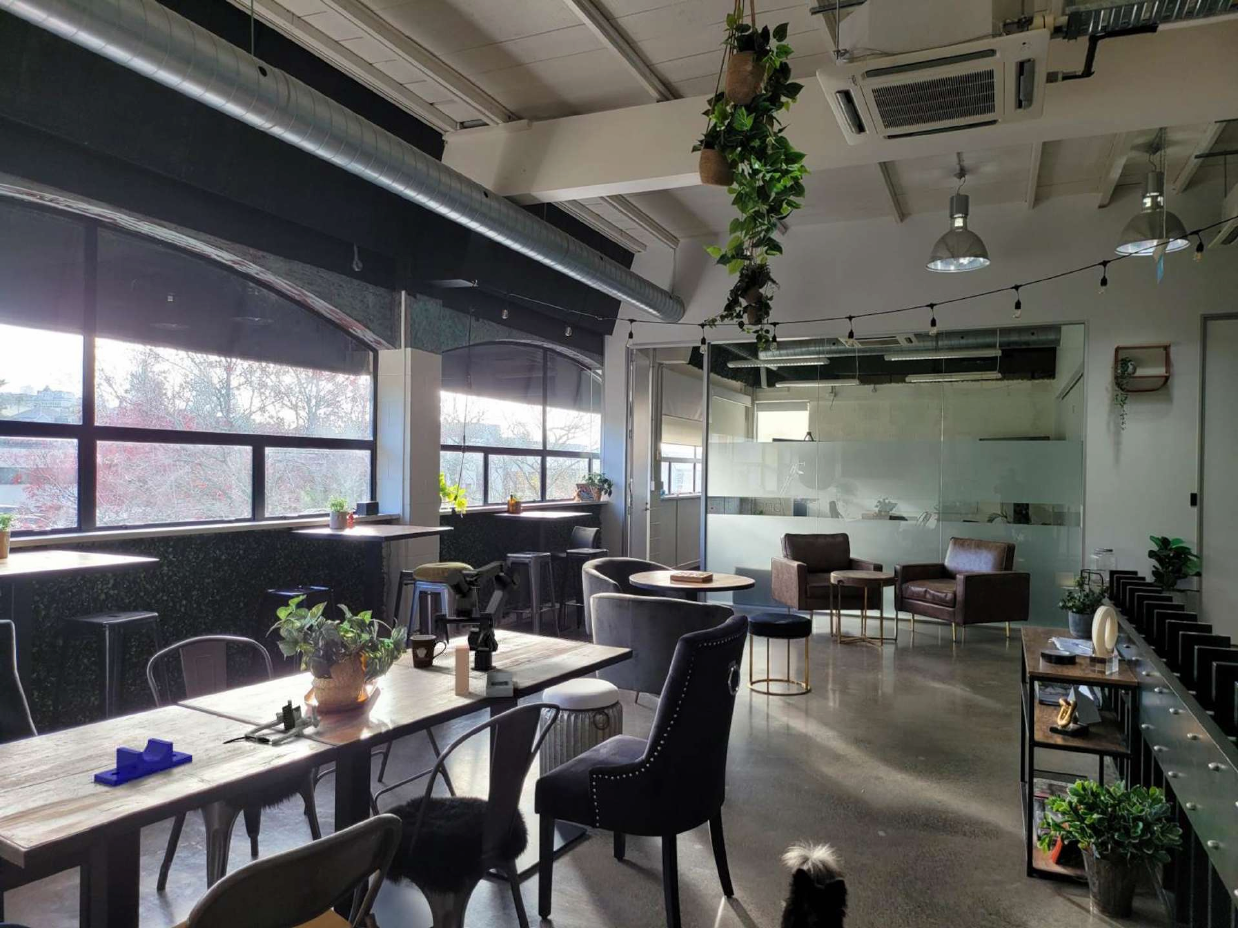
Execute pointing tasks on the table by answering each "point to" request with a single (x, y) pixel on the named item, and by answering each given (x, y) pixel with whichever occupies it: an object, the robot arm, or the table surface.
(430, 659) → the coffee mug
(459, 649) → the terracotta peg
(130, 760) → the mounting bracket
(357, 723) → the table surface
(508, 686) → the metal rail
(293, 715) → the bike brake
